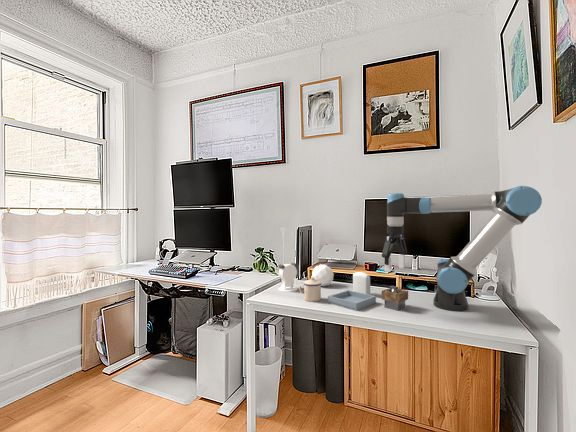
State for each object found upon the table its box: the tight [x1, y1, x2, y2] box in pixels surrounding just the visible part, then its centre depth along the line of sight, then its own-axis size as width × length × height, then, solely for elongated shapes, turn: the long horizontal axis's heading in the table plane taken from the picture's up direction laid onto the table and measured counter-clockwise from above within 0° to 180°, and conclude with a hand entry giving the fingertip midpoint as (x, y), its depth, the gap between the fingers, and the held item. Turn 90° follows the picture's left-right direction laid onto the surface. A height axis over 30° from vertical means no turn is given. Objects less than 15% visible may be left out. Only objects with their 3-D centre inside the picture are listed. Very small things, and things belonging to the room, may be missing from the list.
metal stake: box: [384, 285, 406, 311], centre depth 152 cm, size 7×7×10 cm
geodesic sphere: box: [311, 263, 335, 287], centre depth 195 cm, size 14×14×14 cm
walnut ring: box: [381, 287, 409, 303], centre depth 153 cm, size 10×9×4 cm
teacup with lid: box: [298, 276, 322, 303], centre depth 167 cm, size 12×9×12 cm
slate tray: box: [327, 289, 377, 312], centre depth 159 cm, size 17×17×4 cm
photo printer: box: [352, 271, 371, 295], centre depth 175 cm, size 10×4×12 cm, turn 39°
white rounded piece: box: [277, 262, 298, 293], centre depth 187 cm, size 12×11×15 cm
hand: (394, 269), depth 152 cm, fingers open, 13 cm apart
